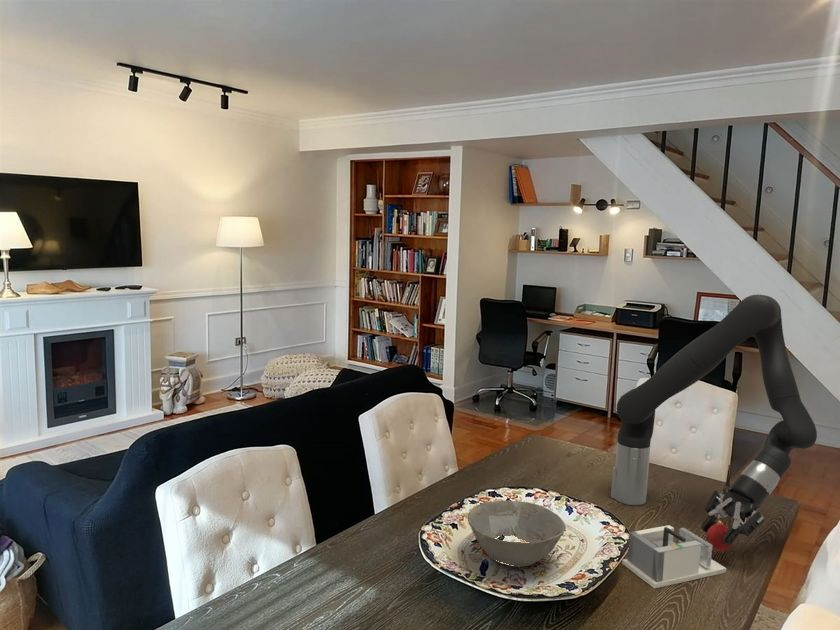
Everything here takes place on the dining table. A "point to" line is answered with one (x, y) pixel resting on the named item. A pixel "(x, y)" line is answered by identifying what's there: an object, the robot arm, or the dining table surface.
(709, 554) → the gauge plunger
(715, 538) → the red pomegranate
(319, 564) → the dining table surface
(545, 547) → the ceramic bowl
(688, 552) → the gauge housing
